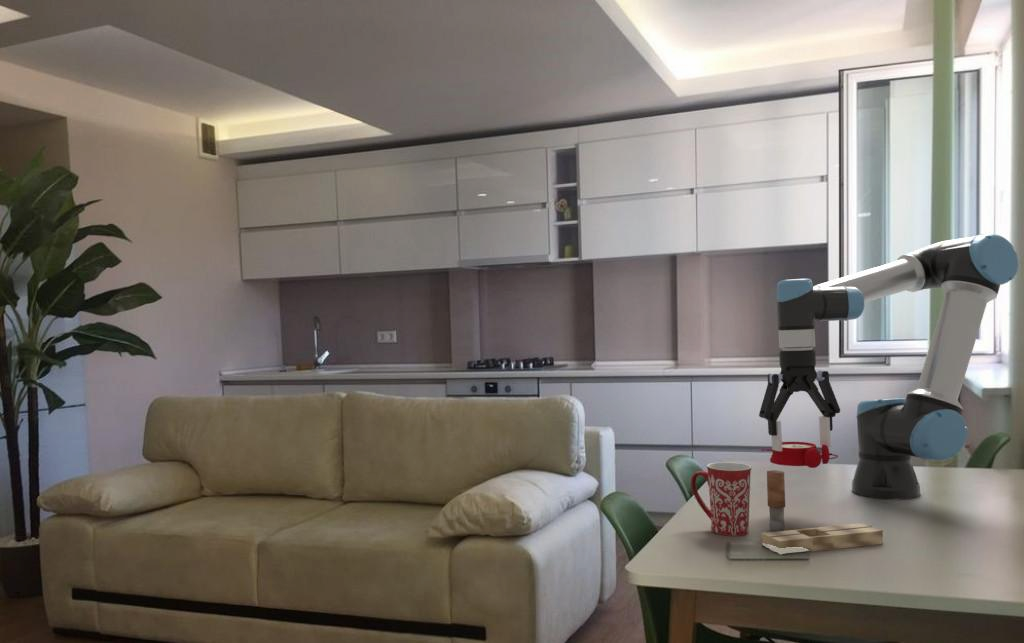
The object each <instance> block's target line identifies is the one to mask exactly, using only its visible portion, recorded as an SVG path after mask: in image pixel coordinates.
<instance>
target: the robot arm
mask: <svg viewBox="0 0 1024 643" xmlns="http://www.w3.org/2000/svg"><path fill="white" fill-rule="evenodd" d="M1017 253H1018V252H1017V251H1015V247H1014V246H1013V245H1012V243H1011V242H1010V241H1009V240H1008V239H1007V238H1005V237H1004V236H1002V235H999V234H995V233H989V234H977V235H974V236H968V237H967V236H966V237H962V238H954V239H947V240H943V241H939V242H936V243H933V244H930V245H928V246H925V247H923V248H919V249H918V250H914V251H912V252H908V253H906V254H902V255H900V256H899V257H898V258H897V259H896V261H893V262H890V263H886V264H883V265H880V266H877V267H876V266H875V267H872V268H869V269H865V270H862V271H859V272H857V273H856V272H855V273H853V274H848V275H845V276H843V277H839V278H836V279H832V280H828V281H826V282H822V283H819V284H815V285H813V280H812V279H811V278H793V279H784V280H780V281H778V283H777V284H776V299H775V301H776V309H777V310H776V312H777V327H778V328H777V329H778V344H779V345H778V347H779V349H782V350H779V353H778V354H779V356H778V357H779V366H780V369H781V370H780V372H779V373H768V375H767V386H766V388H765V389H766V390H765V393H764V397H763V399H762V402H761V407H760V409H759V413H758V416H759V418H761V419H762V418H763V419H765V420H766V421H767V428H768V429H767V431H768V435H769V436H771V449H772V450H776V451H782V442H783V440H782V439H783V438H782V436H783V435H782V421H781V420H779V417H780V416H781V413H782V412H783V410H784V409H785V406H786V404H787V403H788V401H789V399H790V397H791V396H792V395H793V394H794V393H799V392H805V393H807V395H808V396H809V397H810V399H811V400H812V401H813V403H814V404H815V406H816V407H817V408H818V410H819V412H820V413H821V415H819V416H818V427H819V445H820V446H821V447H822V445H826V446H828V448H831V447H832V444H831V443H832V440H831V432H832V431H833V418H835V417H836V414H840V413H841V408H840V405H839V402H838V401H837V398H836V395H835V393H834V390H833V387H832V385H831V382H830V373H829V371H828V370H818V371H817V370H816V366H817V358H816V351H815V349H813V348H815V347H816V335H815V334H816V333H815V332H816V331H815V322H830V321H831V322H834V321H843V322H844V321H849V320H857V319H858V318H860V317H861V316H862V314H863V312H864V310H865V303H869V302H872V301H875V300H878V299H881V298H885V297H888V296H891V295H896V294H899V293H901V292H904V291H908V292H911V293H916V292H919V291H923V290H928V289H929V290H931V289H940V288H941V289H942V290H943V291H944V292H945V295H944V299H943V302H942V305H941V309H940V312H939V314H938V315H939V316H938V318H937V322H936V325H935V328H934V332H933V335H932V338H931V341H930V344H929V347H928V350H927V355H926V357H925V360H924V363H923V367H922V370H921V374H920V376H919V381H918V382H917V383H918V384H917V387H916V388H915V389H913V390H911V391H909V392H908V393H907V394H906V397H901V398H900V397H899V398H883V399H870V400H861V401H860V402H858V404H857V409H856V422H857V424H856V425H857V442H858V447H857V448H858V461H857V465H856V468H855V472H854V476H853V479H852V481H851V491H852V492H853V493H855V494H857V495H861V496H865V497H870V498H879V499H890V500H891V499H893V500H894V499H895V500H897V499H900V500H901V499H912V498H917V497H919V496H921V486H920V485H921V484H920V483H919V480H918V477H917V475H916V472H915V469H914V466H913V463H912V457H914V458H918V459H919V458H920V459H922V460H924V461H937V462H938V461H942V462H943V461H946V460H950V459H951V458H954V457H955V456H957V455H958V454H959V453H961V451H962V450H963V448H964V447H965V445H966V442H967V439H968V437H969V435H968V434H969V428H968V427H967V426H966V425H967V422H966V420H965V418H964V417H963V416H962V413H963V409H964V408H963V406H962V405H961V403H960V402H959V397H960V394H961V391H962V386H963V384H964V380H965V377H966V373H967V370H968V367H969V364H970V360H971V357H972V354H973V350H974V347H975V344H976V341H977V337H978V333H979V330H980V329H981V328H980V327H981V324H982V321H983V317H984V314H985V310H986V308H987V304H988V303H989V302H991V301H993V300H995V299H997V297H998V294H999V291H1000V287H1001V286H1002V285H1005V284H1007V283H1009V282H1010V281H1012V280H1013V279H1014V278H1015V276H1016V275H1017V274H1018V270H1019V258H1018V254H1017ZM816 380H817V383H818V385H819V388H818V386H817V385H816V384H815V381H816ZM781 382H782V385H781V386H780V383H781ZM779 386H780V388H779ZM778 389H779V392H778ZM819 389H820V390H819ZM820 391H821V392H820ZM777 393H778V395H777Z"/></svg>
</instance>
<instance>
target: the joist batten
mask: <svg viewBox="0 0 1024 643" xmlns="http://www.w3.org/2000/svg"><path fill="white" fill-rule="evenodd" d="M883 536H884V533H883V530H882V529H879V528H876V527H874V526H872V525H867V524H865V523H862V522H860V523H858V522H857V523H848V524H838V525H830V526H829V525H828V526H819V527H810V528H809V527H808V528H801V529H799V528H798V529H789V530H784V531H777V532H772V531H769V532H761V544H762V543H765V544H770V545H773V546H776V547H778V548H786V547H803V548H806V549H808V550H809V551H810V552H820V551H829V550H838V549H849V548H855V547H856V548H857V547H865V546H874V545H876V546H877V545H883V544H884V537H883ZM810 552H809V553H810Z"/></svg>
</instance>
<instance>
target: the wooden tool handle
mask: <svg viewBox="0 0 1024 643" xmlns="http://www.w3.org/2000/svg"><path fill="white" fill-rule="evenodd" d="M766 486H767V487H766V488H767V489H766V490H767V491H766V492H767V495H766V496H767V507H769V508H768V510H769V532H777V531H785V508H786V488H785V486H786V484H785V471H783V470H776V469H775V470H774V469H773V470H771V469H770V470H767V471H766Z"/></svg>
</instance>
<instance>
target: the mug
mask: <svg viewBox="0 0 1024 643" xmlns="http://www.w3.org/2000/svg"><path fill="white" fill-rule="evenodd" d="M706 468H707V469H706V470H707V471H705V470H704V471H703V470H698V471H696V472H695V473H693V474H692V476H691V479H690V485H691V486H690V487H691V492H692V495H693V496H694V498H695V500H696V501H697V503H698V506H699V507H700V508H701V509H702V511H703V512H704V513H705V515H706V516H707V517H708V518H709V520H710V522H711V523H710V524H711V531H712V532H713V533H715V534H718V535H722V536H728V537H729V536H730V537H734V536H738V537H739V536H744V535H746V534H748V533H749V530H750V529H749V525H750V499H751V497H750V493H751V471H752V466H751V465H749V464H747V463H741V462H727V461H724V462H723V461H720V462H712V463H708V464H707V465H706ZM698 476H702V477H703V478H704V479H705V480H706V483H707V486H708V491H709V506H710V508H709V507H708V506H707V504H706V503H705V502H704V500H703V499H702V497H701V495H700V494H699V491H698V489H697V482H696V481H697V478H698Z"/></svg>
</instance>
